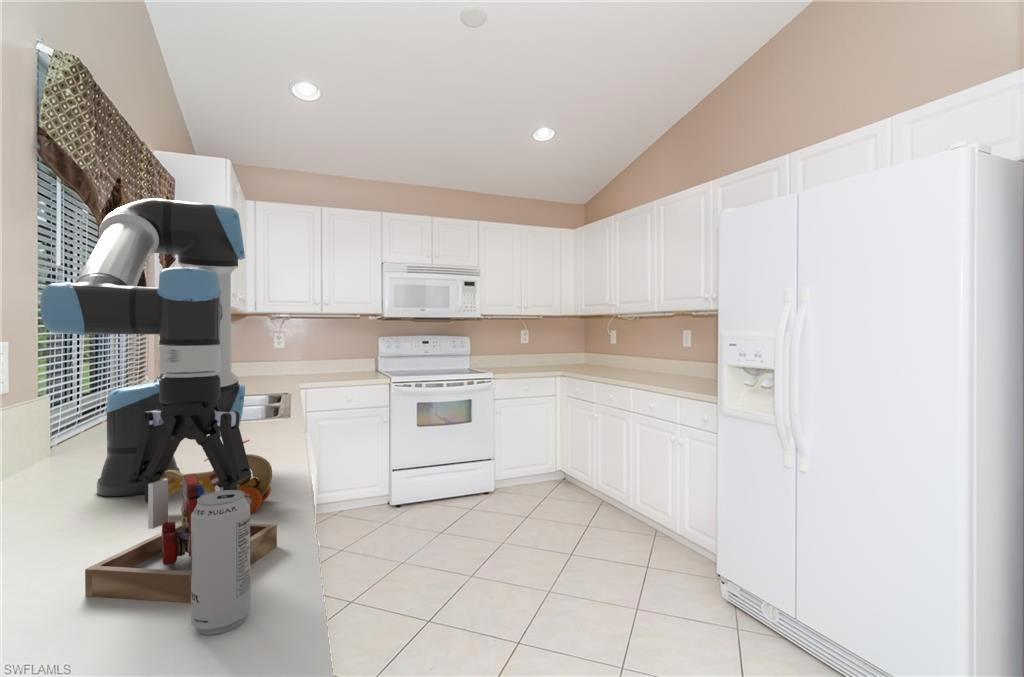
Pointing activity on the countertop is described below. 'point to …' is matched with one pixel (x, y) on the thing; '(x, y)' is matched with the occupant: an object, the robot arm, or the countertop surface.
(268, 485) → the toy helicopter
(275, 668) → the countertop surface
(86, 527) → the countertop surface
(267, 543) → the brown wooden tray
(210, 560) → the energy drink can
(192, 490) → the toy fire truck
